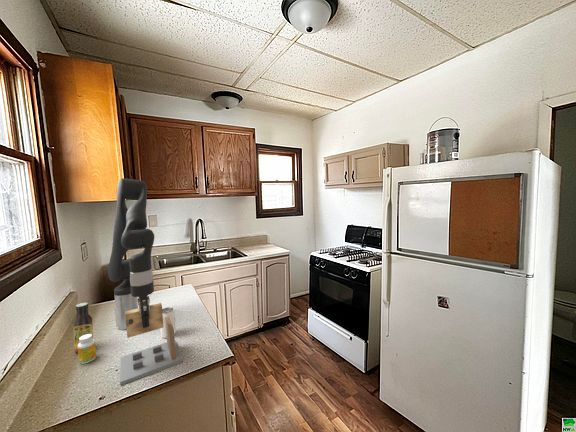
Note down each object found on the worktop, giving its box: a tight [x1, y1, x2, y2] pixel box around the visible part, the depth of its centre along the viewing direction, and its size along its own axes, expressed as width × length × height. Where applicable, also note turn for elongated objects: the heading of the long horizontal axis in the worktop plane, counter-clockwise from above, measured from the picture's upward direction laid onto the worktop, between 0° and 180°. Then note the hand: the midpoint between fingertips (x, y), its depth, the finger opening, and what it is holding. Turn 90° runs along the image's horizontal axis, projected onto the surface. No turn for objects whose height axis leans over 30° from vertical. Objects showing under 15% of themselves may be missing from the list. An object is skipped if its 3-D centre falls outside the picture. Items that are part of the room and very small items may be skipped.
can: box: [159, 306, 177, 339], centre depth 114 cm, size 6×6×12 cm
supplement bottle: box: [77, 334, 97, 365], centre depth 98 cm, size 5×5×10 cm
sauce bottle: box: [73, 302, 94, 354], centre depth 104 cm, size 7×6×20 cm
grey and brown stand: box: [119, 317, 183, 386], centre depth 95 cm, size 20×16×13 cm
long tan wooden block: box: [125, 302, 164, 339], centre depth 94 cm, size 12×4×9 cm, turn 124°
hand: (145, 324), depth 94 cm, fingers closed on long tan wooden block, 3 cm apart
